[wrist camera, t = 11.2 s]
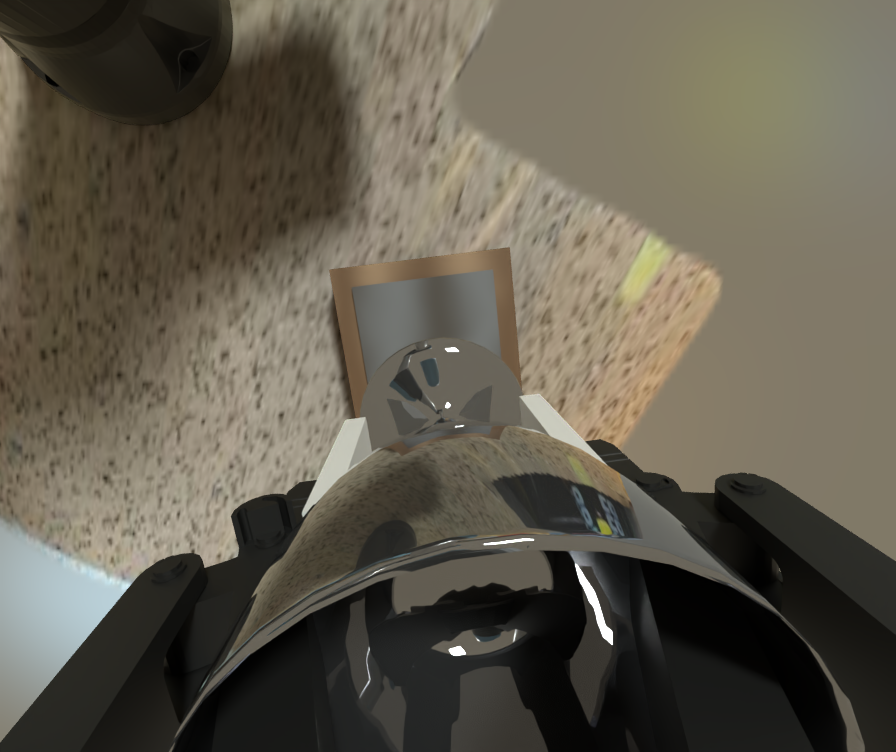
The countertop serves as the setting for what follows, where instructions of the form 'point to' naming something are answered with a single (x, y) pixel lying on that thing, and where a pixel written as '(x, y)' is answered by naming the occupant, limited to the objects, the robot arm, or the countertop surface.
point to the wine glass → (487, 583)
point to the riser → (424, 309)
